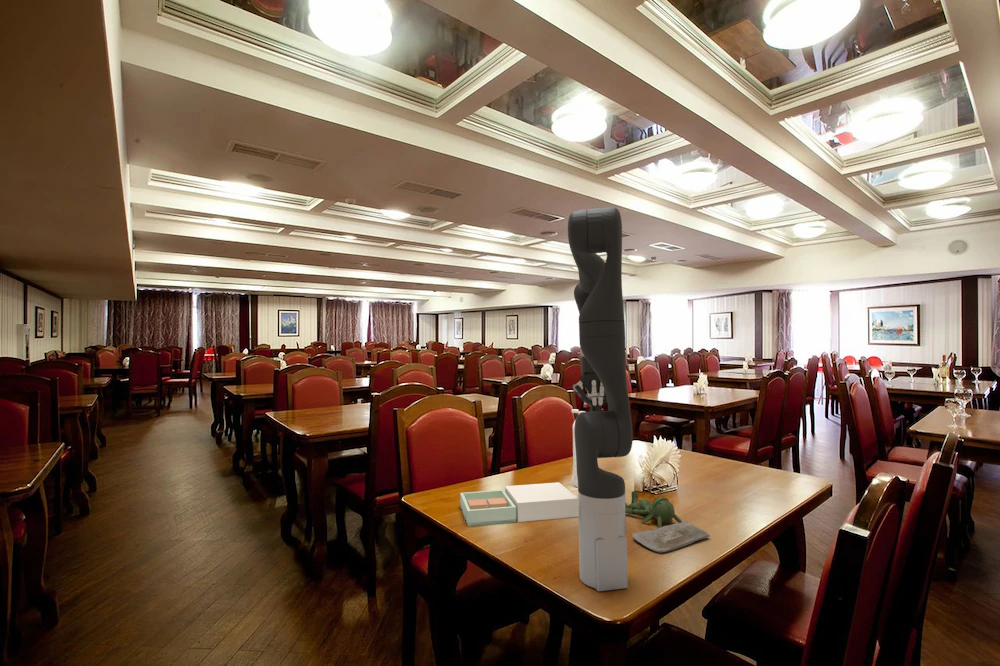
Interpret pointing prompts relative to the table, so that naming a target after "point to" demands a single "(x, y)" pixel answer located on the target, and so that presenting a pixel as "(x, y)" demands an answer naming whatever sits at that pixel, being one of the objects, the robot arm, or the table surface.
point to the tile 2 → (497, 502)
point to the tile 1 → (477, 504)
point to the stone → (670, 537)
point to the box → (487, 509)
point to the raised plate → (542, 501)
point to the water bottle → (575, 479)
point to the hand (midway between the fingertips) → (596, 419)
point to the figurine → (652, 509)
